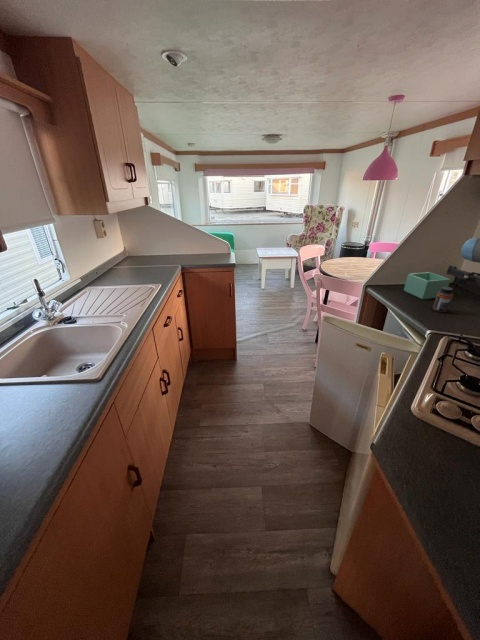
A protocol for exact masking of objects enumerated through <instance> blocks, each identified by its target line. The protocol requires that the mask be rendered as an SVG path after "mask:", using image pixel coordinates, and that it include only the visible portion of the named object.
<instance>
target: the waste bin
mask: <svg viewBox="0 0 480 640" xmlns="http://www.w3.org/2000/svg"><path fill="white" fill-rule="evenodd" d="M450 283H451V279H450V278H448V277H445V276H442V275H439V274H436V273H434V272H431V271H426V272H425V271H424V272H414V273H413V272H412V273H408V274H407V275H406V280H405V284H404V288H403V291H404V292H406V293H407V294H411V295H412V296H415V297H417V298H419V299H421V300H428V299H436V296H437V293H438V292H439V291H441V289H442V287H449V285H450Z"/></svg>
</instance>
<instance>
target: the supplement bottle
mask: <svg viewBox="0 0 480 640" xmlns="http://www.w3.org/2000/svg"><path fill="white" fill-rule="evenodd" d="M453 297H454V294H453V287H449V286H448V287H442V289H441V291H439V292H438V293H437V296H436V298H434V299H435V300H434V302H433V305H432V310H433V311H434V312H437V313H442V314H444V313H447V312H448V311H449V308H450V306H451V302H452V300H453Z"/></svg>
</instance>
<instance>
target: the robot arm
mask: <svg viewBox="0 0 480 640" xmlns="http://www.w3.org/2000/svg"><path fill="white" fill-rule="evenodd" d="M460 256H461V258H462V259H464V260H467V261H470V262H474V263H479V264H480V237H478V238H470V239H468V240H467V241H465V242H464V244H463V245H462V247H461V250H460ZM445 274H446V275H449V276H453V277H456V278H458V279H461V280H464V281H466V282H471V283H474V284H476V288H477V289H478V290H480V272H474V271H472V272H470V271H467V270H463V269H459V268H458V267H457V266H453V265H448V267H447V270H446V272H445Z"/></svg>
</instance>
